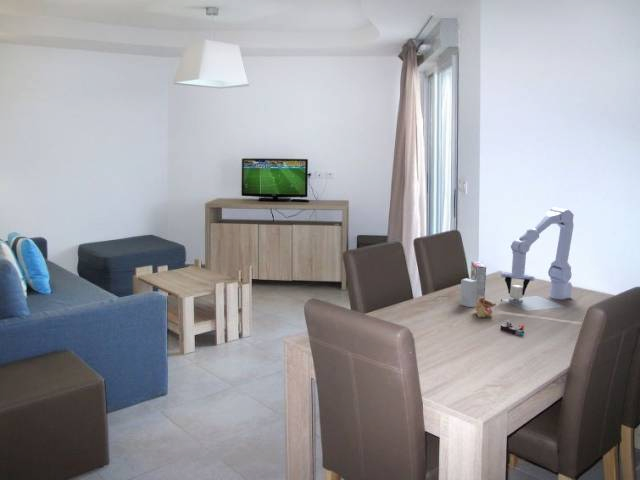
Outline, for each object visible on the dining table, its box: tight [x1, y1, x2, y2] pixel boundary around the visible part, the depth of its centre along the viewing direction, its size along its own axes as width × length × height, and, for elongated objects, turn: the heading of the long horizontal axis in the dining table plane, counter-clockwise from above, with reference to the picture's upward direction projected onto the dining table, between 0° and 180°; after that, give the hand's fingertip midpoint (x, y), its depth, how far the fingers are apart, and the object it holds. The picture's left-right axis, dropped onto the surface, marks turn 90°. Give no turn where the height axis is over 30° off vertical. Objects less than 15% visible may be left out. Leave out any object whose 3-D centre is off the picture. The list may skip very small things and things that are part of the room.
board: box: [500, 295, 565, 312], centre depth 285 cm, size 21×19×1 cm
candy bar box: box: [470, 260, 487, 300], centre depth 295 cm, size 11×5×16 cm, turn 179°
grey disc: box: [508, 297, 523, 303], centre depth 287 cm, size 6×6×4 cm
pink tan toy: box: [473, 296, 497, 319], centre depth 267 cm, size 9×10×10 cm
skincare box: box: [460, 278, 477, 308], centre depth 281 cm, size 6×4×12 cm
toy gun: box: [499, 319, 525, 337], centre depth 248 cm, size 10×12×5 cm
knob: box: [509, 284, 524, 299], centre depth 286 cm, size 6×6×5 cm
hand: (516, 293), depth 287 cm, fingers closed on knob, 6 cm apart
